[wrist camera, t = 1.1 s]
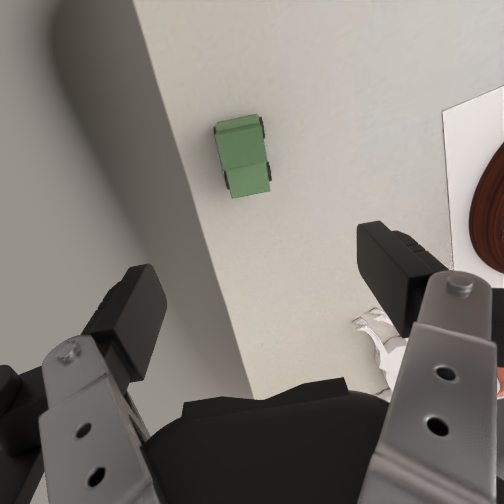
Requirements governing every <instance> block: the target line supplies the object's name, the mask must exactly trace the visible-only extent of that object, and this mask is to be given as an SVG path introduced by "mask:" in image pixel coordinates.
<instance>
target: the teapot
mask: <svg viewBox="0 0 504 504" xmlns="http://www.w3.org/2000/svg"><path fill="white" fill-rule="evenodd" d="M497 378H498V380H499V383H500V391H499V392H498V394H497V397H501V396H503V395H504V368H501V367H497Z"/></svg>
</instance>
